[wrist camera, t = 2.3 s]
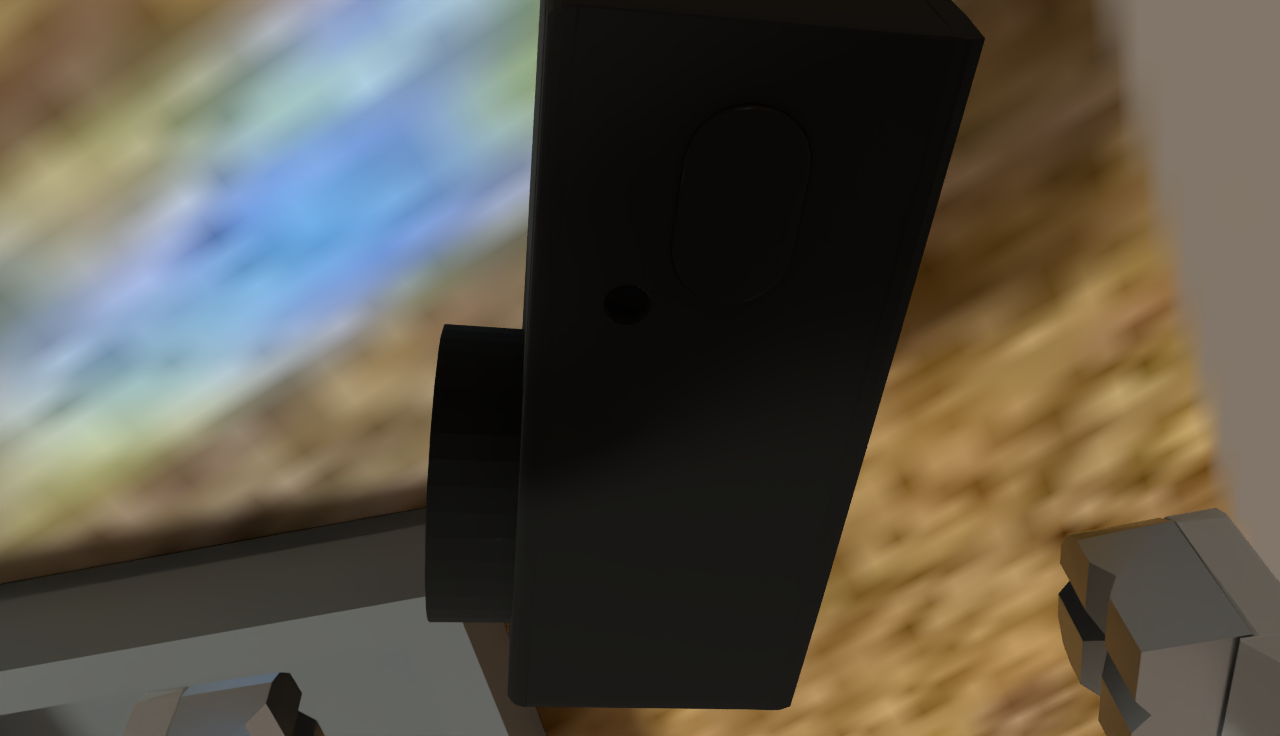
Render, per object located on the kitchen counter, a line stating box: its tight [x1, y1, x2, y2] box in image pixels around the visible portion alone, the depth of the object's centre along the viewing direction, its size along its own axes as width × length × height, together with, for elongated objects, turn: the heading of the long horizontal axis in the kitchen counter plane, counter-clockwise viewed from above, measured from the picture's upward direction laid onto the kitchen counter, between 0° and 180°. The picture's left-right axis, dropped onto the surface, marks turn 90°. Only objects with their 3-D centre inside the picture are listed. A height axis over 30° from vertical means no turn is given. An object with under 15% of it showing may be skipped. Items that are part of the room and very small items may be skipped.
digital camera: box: [425, 0, 985, 710], centre depth 16 cm, size 10×5×7 cm, turn 174°
